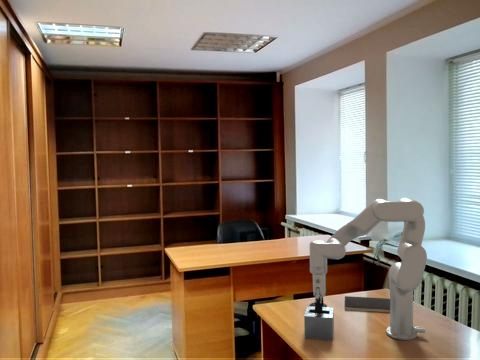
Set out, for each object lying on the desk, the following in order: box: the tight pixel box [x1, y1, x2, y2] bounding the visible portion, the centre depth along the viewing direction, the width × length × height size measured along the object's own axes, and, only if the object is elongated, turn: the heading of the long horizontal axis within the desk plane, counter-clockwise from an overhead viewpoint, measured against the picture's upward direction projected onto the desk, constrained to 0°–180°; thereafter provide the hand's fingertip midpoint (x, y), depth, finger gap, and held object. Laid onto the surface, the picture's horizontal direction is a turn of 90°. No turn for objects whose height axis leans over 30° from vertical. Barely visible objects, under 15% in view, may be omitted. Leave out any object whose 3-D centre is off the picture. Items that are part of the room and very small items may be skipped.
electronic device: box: [308, 301, 328, 307], centre depth 216 cm, size 9×6×15 cm
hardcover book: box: [344, 295, 390, 313], centre depth 222 cm, size 16×23×2 cm
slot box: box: [303, 305, 335, 342], centre depth 190 cm, size 12×12×10 cm
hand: (319, 308), depth 189 cm, fingers open, 6 cm apart
